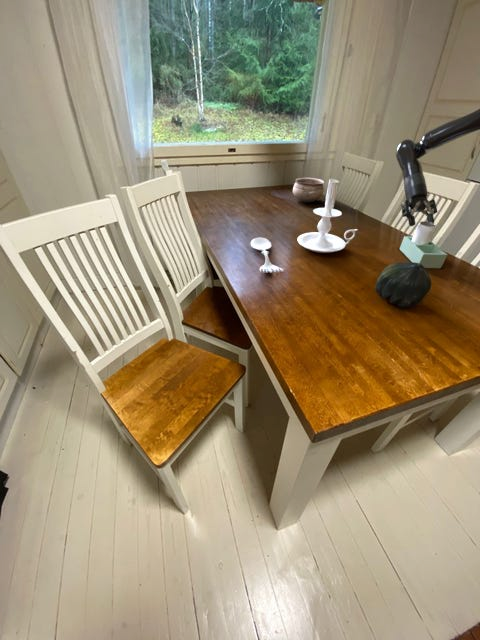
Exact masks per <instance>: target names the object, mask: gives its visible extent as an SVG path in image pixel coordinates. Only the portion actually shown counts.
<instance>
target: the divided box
mask: <svg viewBox="0 0 480 640" xmlns="http://www.w3.org/2000/svg"><path fill="white" fill-rule="evenodd" d="M412 238H413V236H407V235H406V236H405V235H404V236H403V239H402V242H401V244H400V246H399V250H400V252H401V253H403V255H404V256H406V258H407V259H408V260H409V262H415V263H420V264H421V265H423V266H424V268H425V269H441V268H442V266H443V264H444V263H445V261H446V259H447V257H448V253H446V252H445V251H444V250H443V249H441V248H440V247H439V246H437V245H436V244H435V243H434V242H433V241H431V240H430V242H429V244H428V245H419V244H414V243H413V242H412V241H411V240H412Z"/></svg>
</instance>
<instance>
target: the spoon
mask: <svg viewBox="0 0 480 640" xmlns="http://www.w3.org/2000/svg"><path fill="white" fill-rule="evenodd" d="M250 246H251V247H252V248H253V249H254V250H256V251H261V254H262V255H263V256H264V258H265V259H264V264H263V265H261V266H260V267H259V273H260V274H262V273H266V274H268V273H270V274H272V273H280V272H281V273H284V269H283V268H281V267H279V266H277V265H275V264H273V263H272V262H271V260H270V258H269V254H270V252H269V251H267V250H270V249H271V248H272V243H271V241H270V240H268V239H267V238H265V237H255V238H253V239H252V240H251V241H250Z"/></svg>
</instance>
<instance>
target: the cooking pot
mask: <svg viewBox="0 0 480 640" xmlns="http://www.w3.org/2000/svg"><path fill="white" fill-rule="evenodd" d="M324 183H325V181H324V180H323V179H320V178H315V177H298V178H295V183H294V184H293V188H292V193H293V197H295V198H296V199H297V201H298V200H299V202H301V203H303V204H311V203H313V202H315V201H317V200H319V199H321V198H322V196H323V194H324V191H325V190H324Z"/></svg>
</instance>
